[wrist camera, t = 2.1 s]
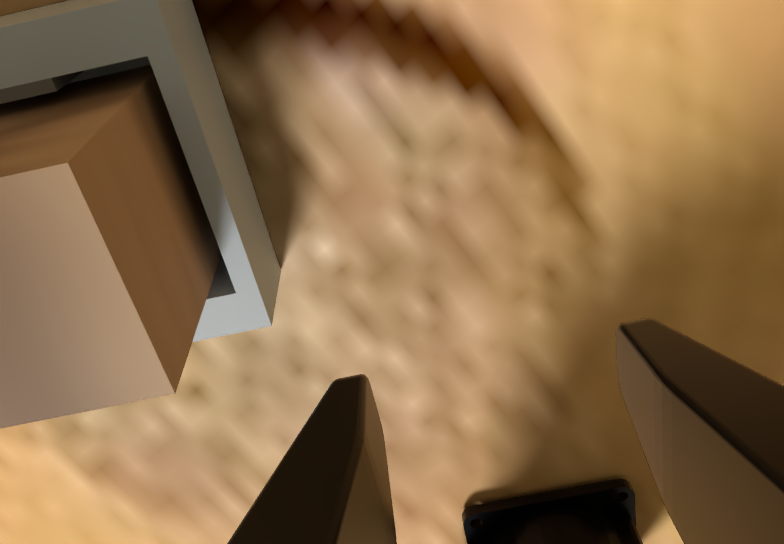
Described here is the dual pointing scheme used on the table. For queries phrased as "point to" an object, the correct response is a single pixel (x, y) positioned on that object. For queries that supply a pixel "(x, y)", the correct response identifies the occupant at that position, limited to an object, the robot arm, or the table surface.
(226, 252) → the chute
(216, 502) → the table surface
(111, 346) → the walnut block
